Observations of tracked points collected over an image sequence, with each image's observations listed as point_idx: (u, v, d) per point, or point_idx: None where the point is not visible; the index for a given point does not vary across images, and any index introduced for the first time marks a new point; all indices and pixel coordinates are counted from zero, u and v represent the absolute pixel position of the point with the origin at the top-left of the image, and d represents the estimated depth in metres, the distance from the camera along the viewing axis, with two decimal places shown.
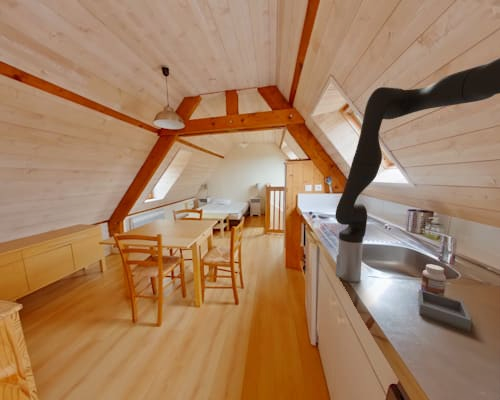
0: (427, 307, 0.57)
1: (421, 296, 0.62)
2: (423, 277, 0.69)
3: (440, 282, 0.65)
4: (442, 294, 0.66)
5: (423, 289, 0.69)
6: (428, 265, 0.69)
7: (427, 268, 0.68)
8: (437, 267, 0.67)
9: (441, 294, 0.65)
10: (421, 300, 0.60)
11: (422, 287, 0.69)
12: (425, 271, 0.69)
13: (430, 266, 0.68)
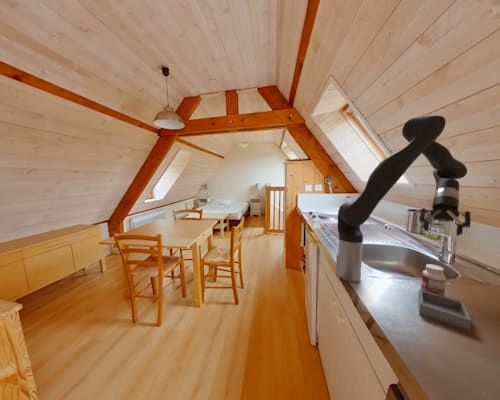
0: (427, 307, 0.57)
1: (421, 296, 0.62)
2: (423, 277, 0.69)
3: (440, 282, 0.65)
4: (442, 294, 0.66)
5: (423, 289, 0.69)
6: (428, 265, 0.69)
7: (427, 268, 0.68)
8: (437, 267, 0.67)
9: (441, 294, 0.65)
10: (421, 300, 0.60)
11: (422, 287, 0.69)
12: (425, 271, 0.69)
13: (430, 266, 0.68)
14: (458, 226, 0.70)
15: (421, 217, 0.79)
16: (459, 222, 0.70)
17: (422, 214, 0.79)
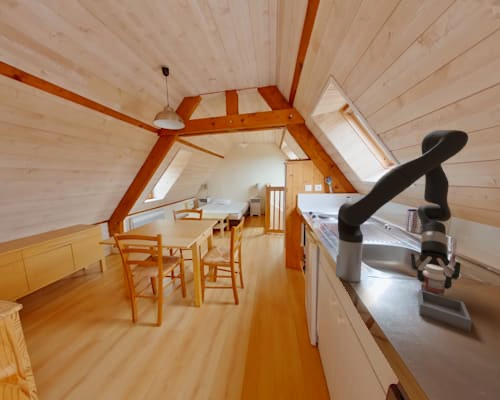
0: (427, 307, 0.57)
1: (421, 296, 0.62)
2: (423, 277, 0.69)
3: (440, 282, 0.65)
4: (442, 294, 0.66)
5: (423, 289, 0.69)
6: (428, 265, 0.69)
7: (427, 268, 0.68)
8: (437, 267, 0.67)
9: (441, 294, 0.65)
10: (421, 300, 0.60)
11: (422, 287, 0.69)
12: (425, 271, 0.69)
13: (430, 266, 0.68)
14: (447, 278, 0.65)
15: (414, 264, 0.72)
16: (447, 274, 0.66)
17: (413, 261, 0.73)
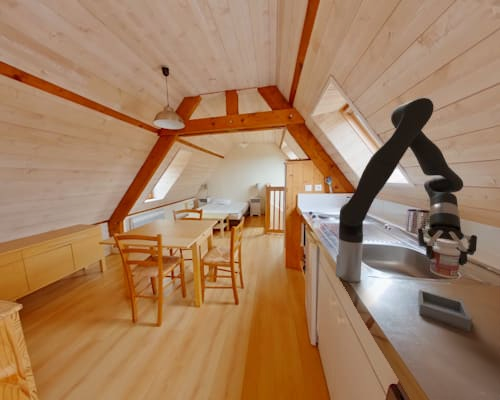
0: (427, 307, 0.57)
1: (421, 296, 0.62)
2: (433, 253, 0.60)
3: (453, 258, 0.56)
4: (456, 271, 0.56)
5: (433, 267, 0.59)
6: (439, 239, 0.59)
7: (438, 242, 0.59)
8: (450, 241, 0.58)
9: (455, 271, 0.56)
10: (421, 300, 0.60)
11: (432, 265, 0.60)
12: (435, 246, 0.59)
13: (441, 240, 0.59)
14: (462, 253, 0.56)
15: (422, 240, 0.63)
16: (462, 248, 0.57)
17: (421, 236, 0.64)
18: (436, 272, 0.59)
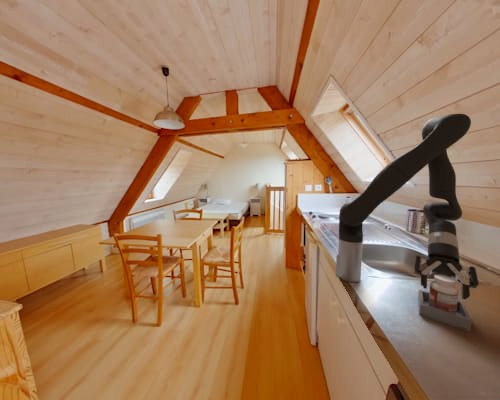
0: (427, 307, 0.57)
1: (421, 296, 0.62)
2: (431, 290, 0.60)
3: (451, 297, 0.56)
4: (454, 310, 0.56)
5: (431, 304, 0.59)
6: (437, 276, 0.59)
7: (436, 279, 0.59)
8: (448, 278, 0.58)
9: (453, 310, 0.56)
10: (421, 300, 0.60)
11: (430, 301, 0.60)
12: (433, 283, 0.59)
13: (439, 277, 0.59)
14: (464, 287, 0.55)
15: (417, 268, 0.63)
16: (464, 281, 0.56)
17: (418, 264, 0.64)
18: None
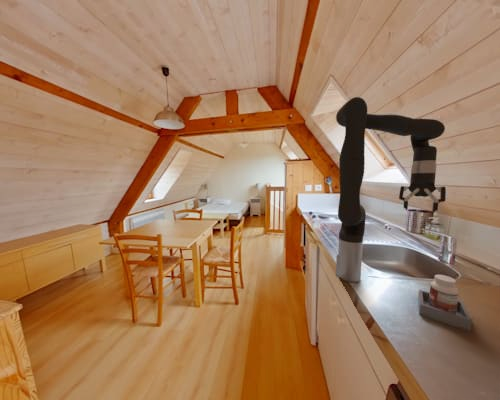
0: (427, 307, 0.57)
1: (421, 296, 0.62)
2: (431, 289, 0.60)
3: (451, 297, 0.56)
4: (454, 310, 0.56)
5: (431, 303, 0.59)
6: (437, 276, 0.59)
7: (436, 279, 0.59)
8: (448, 278, 0.58)
9: (453, 310, 0.56)
10: (421, 300, 0.60)
11: (430, 301, 0.60)
12: (434, 283, 0.60)
13: (440, 277, 0.59)
14: (434, 204, 0.74)
15: (401, 197, 0.81)
16: (435, 200, 0.74)
17: (401, 193, 0.81)
18: None
